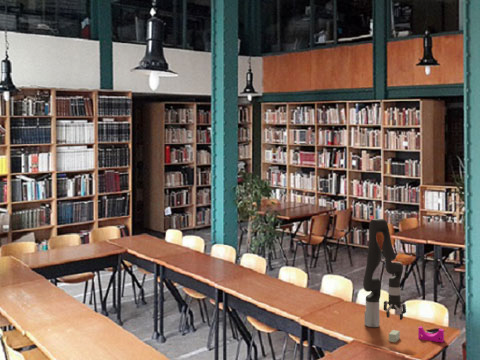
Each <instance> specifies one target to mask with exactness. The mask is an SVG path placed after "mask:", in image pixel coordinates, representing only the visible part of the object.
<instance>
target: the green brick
mask: <svg viewBox="0 0 480 360" xmlns="http://www.w3.org/2000/svg"><path fill="white" fill-rule="evenodd" d="M400 335H401V332H400V330H395V329H392V330H391V331H390V332H389V333H388V342H392V343H397V342H398V341H399V340H400V339H401V338H400V337H401V336H400Z"/></svg>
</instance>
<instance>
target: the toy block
mask: <svg viewBox="0 0 480 360" xmlns="http://www.w3.org/2000/svg"><path fill="white" fill-rule="evenodd" d="M417 328H418V329H417V330H418V332H417V333H418V340H424V341H430V342H437V343H444V341H445V332H444V331H445V330H444V328H438V331H437V332H435V333H430V332H428V331H427V332H426V331H425V330H424V327H423V326H421V325H419V326H418V327H417Z"/></svg>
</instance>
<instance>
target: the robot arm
mask: <svg viewBox="0 0 480 360" xmlns="http://www.w3.org/2000/svg"><path fill="white" fill-rule="evenodd" d="M368 227H369V228H368V247H367V255H366V256H367V257H366V265H365V271H364V272H365V273H364V277H363V287H362V288H363V290H364V291H365V292H367V293H369V292H370V293H369V294H367V295H365V310H364V326H366V327H368V328H378V327H379V328H380V299H381V293H382V292H381V291H382V282H381V280H380V278H379V277H373V276H374V273H375V271H376V269H377V268H378V267H379V265H380V263H381V261H382V254H383V256H384V262H385V263H384V264H385V270H386V273H388V274H389V275H393V276H391V277H389V278H388V301H387V300H384V301H383V311H385V312H386V315H385V316H386V318H390V316H391V315H390V313H391V312H390V310H395V311H397V312H398V313H399V321H402V320H403V318H404V315H405V314H407V308H406V307H407V306H406V303H401V297H402V296H401V295H402V294H401V293H402V292H401V278H402V275H403V271H404V267H403V266H404V265H403V264H402V263H401V262H392V261H394V260H396V258H397V255H396V252H395V250H394V247H393V245H392V239H391V234H390V229H389V225H388V222H387V220H386V219H385V218H373V219H371V220H370V221H369V225H368ZM379 233H382V236H383V242H382V245H381V246H380V244H379V242H378V240H377V234H379Z"/></svg>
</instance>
